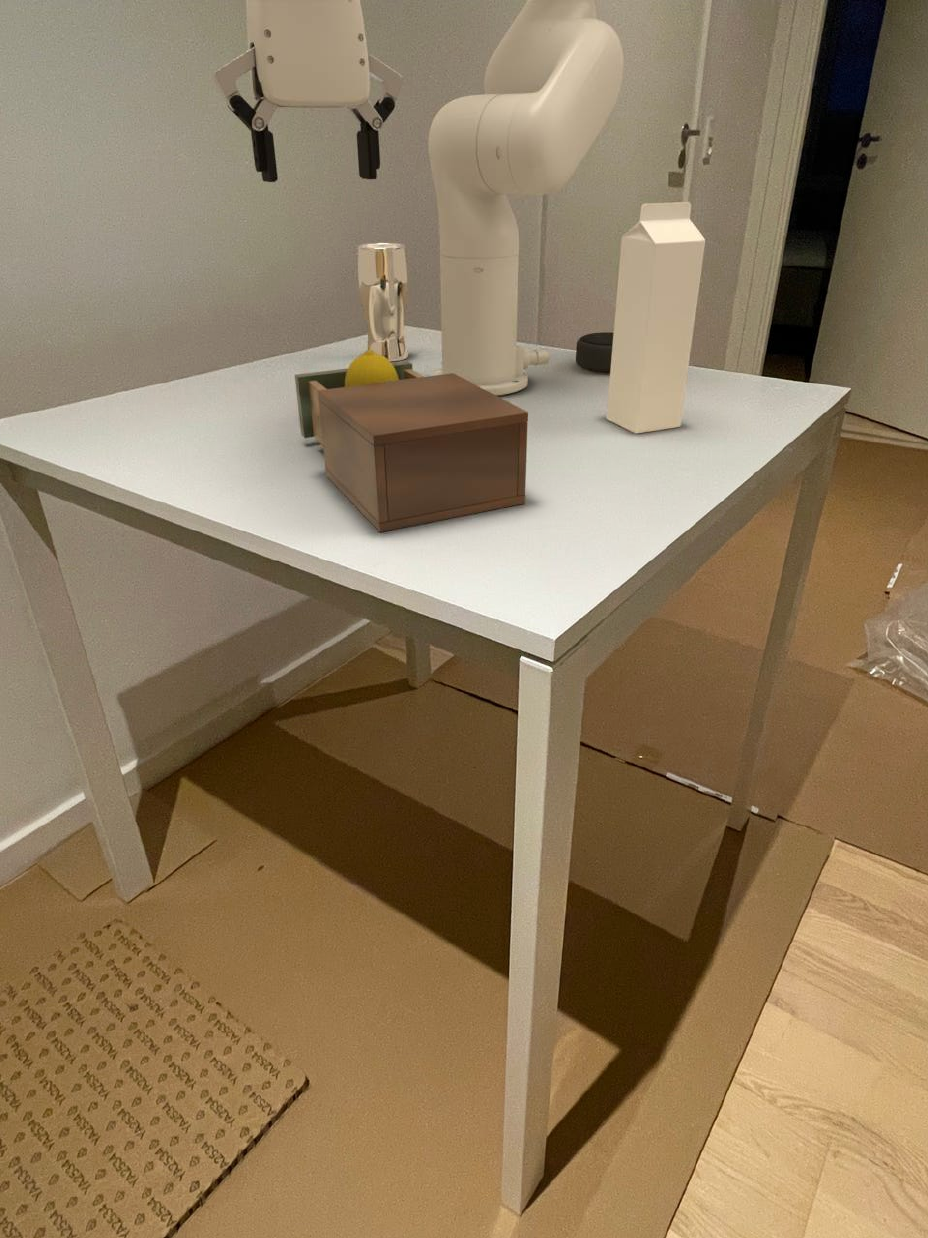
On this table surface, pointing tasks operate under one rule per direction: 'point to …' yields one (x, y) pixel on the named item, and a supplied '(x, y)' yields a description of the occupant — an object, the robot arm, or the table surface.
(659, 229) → the milk
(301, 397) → the drawer
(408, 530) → the table surface
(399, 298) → the beer glass
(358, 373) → the lemon
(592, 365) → the smart speaker
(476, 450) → the cabinet
